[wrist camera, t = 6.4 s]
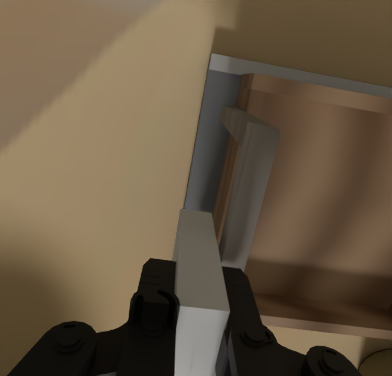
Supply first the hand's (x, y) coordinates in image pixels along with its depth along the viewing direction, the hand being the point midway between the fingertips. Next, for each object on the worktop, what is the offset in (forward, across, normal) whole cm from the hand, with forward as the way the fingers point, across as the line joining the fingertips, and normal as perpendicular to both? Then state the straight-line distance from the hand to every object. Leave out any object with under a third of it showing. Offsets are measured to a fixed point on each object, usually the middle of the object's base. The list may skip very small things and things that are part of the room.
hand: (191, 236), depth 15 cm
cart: (+10, -10, 0) cm, 14 cm away
